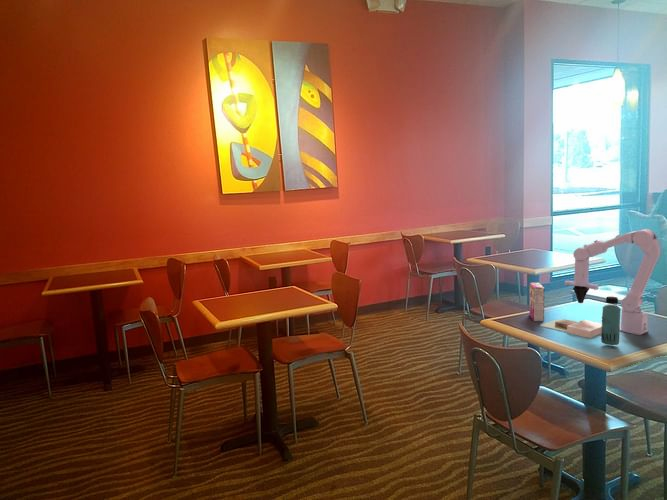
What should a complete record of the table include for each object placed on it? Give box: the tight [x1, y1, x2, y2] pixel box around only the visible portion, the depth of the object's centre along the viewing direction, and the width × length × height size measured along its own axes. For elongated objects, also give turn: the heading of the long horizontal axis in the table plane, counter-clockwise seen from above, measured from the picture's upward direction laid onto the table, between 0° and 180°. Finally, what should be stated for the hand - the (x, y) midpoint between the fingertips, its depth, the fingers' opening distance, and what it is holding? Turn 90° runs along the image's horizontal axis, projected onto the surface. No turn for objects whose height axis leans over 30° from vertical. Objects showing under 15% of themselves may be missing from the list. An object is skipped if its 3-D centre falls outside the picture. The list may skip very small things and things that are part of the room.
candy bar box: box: [528, 282, 545, 322], centre depth 233 cm, size 11×5×16 cm, turn 168°
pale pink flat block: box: [566, 319, 602, 339], centre depth 211 cm, size 10×14×3 cm
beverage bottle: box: [600, 296, 622, 346], centre depth 191 cm, size 6×7×20 cm
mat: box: [539, 319, 567, 333], centre depth 221 cm, size 12×14×1 cm
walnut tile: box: [555, 318, 578, 329], centre depth 218 cm, size 7×7×2 cm
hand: (580, 302), depth 223 cm, fingers closed
